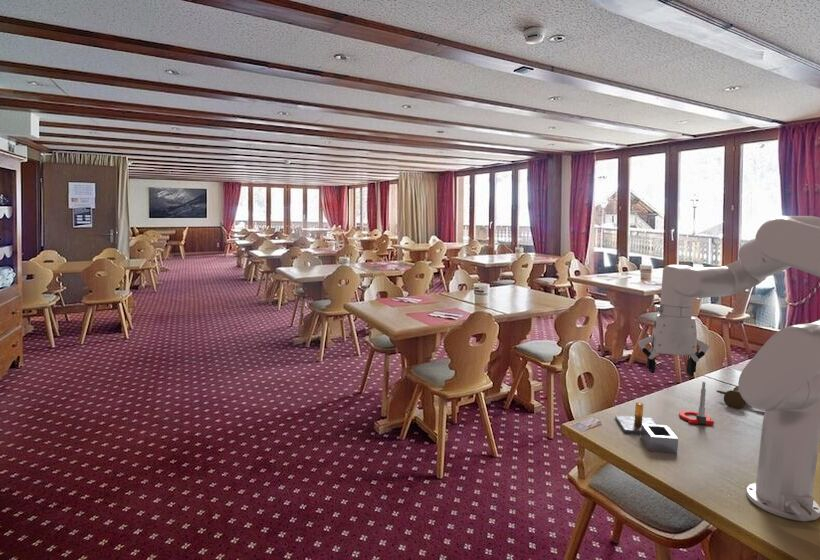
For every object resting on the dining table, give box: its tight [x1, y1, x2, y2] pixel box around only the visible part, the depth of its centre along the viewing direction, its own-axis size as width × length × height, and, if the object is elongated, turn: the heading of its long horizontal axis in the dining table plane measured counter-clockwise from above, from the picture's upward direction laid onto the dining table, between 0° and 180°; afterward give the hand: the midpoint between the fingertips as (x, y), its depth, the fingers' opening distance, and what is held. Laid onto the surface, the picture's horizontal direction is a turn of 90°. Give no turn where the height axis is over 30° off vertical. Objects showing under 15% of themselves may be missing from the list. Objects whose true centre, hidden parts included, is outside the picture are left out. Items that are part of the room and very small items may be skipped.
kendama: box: [716, 385, 747, 410], centre depth 154 cm, size 6×10×20 cm
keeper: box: [615, 402, 657, 435], centre depth 140 cm, size 10×10×7 cm
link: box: [640, 424, 679, 454], centre depth 129 cm, size 8×7×4 cm
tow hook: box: [678, 381, 715, 426], centre depth 145 cm, size 8×13×9 cm
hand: (670, 373), depth 130 cm, fingers open, 9 cm apart
